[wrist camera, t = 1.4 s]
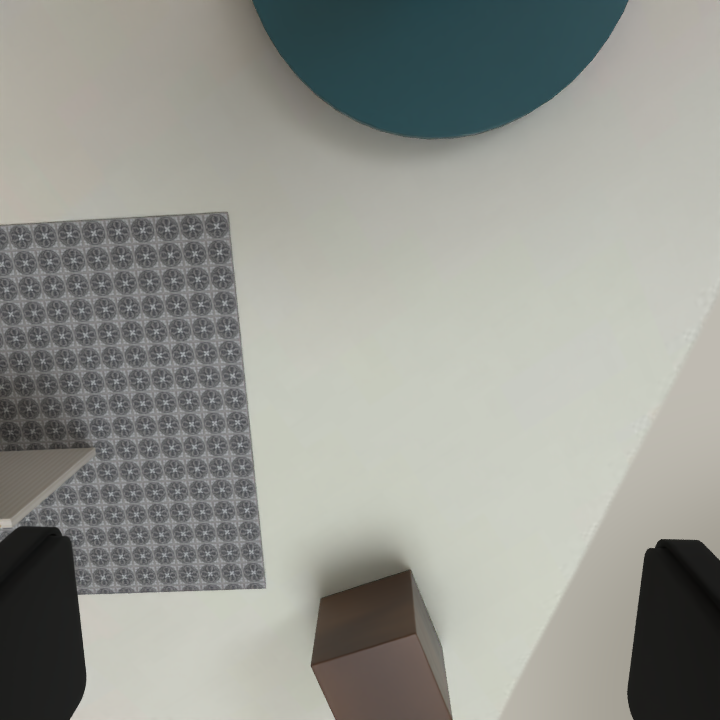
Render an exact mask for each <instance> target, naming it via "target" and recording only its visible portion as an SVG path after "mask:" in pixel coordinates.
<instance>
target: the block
mask: <svg viewBox="0 0 720 720" xmlns="http://www.w3.org/2000/svg"><path fill="white" fill-rule="evenodd" d="M311 667H312V670H313V672H314V674H315V676H316V678H317V680H318V683H319V685H320V687H321V689H322V691H323V694H324V696H325V698H326V700H327V702H328V704H329V707H330V709H331V711H332V713H333V715H334V717H335V720H453V719H452V712H451V705H450V698H449V691H448V684H447V677H446V671H445V664H444V657H443V650H442V646H441V644H440V641H439V639H438V636H437V634H436V631H435V629H434V626H433V624H432V622H431V619H430V617H429V614H428V612H427V609H426V607H425V604H424V602H423V599H422V597H421V594H420V592H419V589H418V587H417V584H416V582H415V579H414V577H413V574H412V572H411V570H408V571H405V572H402V573H398V574H395V575H392V576H389V577H386V578H383V579H380V580H377V581H374V582H370V583H367V584H364V585H361V586H358V587H355V588H352V589H349V590H346V591H342V592H339V593H336V594H333V595H330V596H327V597H324V598H321V599H320V606H319V613H318V620H317V627H316V633H315V640H314V647H313V654H312V661H311Z"/></svg>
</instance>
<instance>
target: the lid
mask: <svg viewBox="0 0 720 720" xmlns="http://www.w3.org/2000/svg"><path fill="white" fill-rule="evenodd" d="M252 1H253V4H254V6H255V9H256V11H257V13H258V15H259V17H260V20H261V22H262V24H263V26H264V29H265V30H266V32H267V34H268V35H269V37H270V39H271V40H272V42H273V44H274V45H275V47H276V49H277V50H278V52H279V54H280V55H281V57H282V58H283V59H284V60H285V62H286V63H287V64H288V65H289V67H290V68H291V69H292V71H293V72H294V73H295V74H296V76H297V77H298V78H299V79H300V80H301V81H302V82H303V83H304V84H305V85H306V86H307V87H308V88H309V89H310V90H311V91H312V92H313V93H315V94H316V95H317V96H318V97H319V98H321V99H322V100H323V101H325V102H326V103H327V104H329V105H330V106H331V107H333V108H334V109H335V110H337V111H339V112H341V113H342V114H344V115H346V116H348V117H349V118H351V119H353V120H355V121H357V122H359V123H361V124H364V125H366V126H369V127H371V128H374V129H376V130H379V131H382V132H386V133H390V134H394V135H399V136H403V137H410V138H420V139H451V138H459V137H465V136H470V135H476V134H480V133H483V132H486V131H489V130H492V129H496V128H499V127H502V126H504V125H506V124H508V123H510V122H513V121H515V120H517V119H519V118H521V117H523V116H525V115H527V114H529V113H530V112H532V111H533V110H535V109H536V108H538V107H539V106H541V105H543V104H544V103H546V102H547V101H549V100H550V99H552V98H553V97H554V96H555V95H557V94H558V93H559V92H560V91H561V90H563V89H564V88H565V87H566V86H567V85H569V84H570V83H571V82H572V81H573V80H574V79H575V78H576V77H577V76H578V75H579V74H580V73H581V72H582V71H583V69H584V68H585V67H586V66H587V65H588V64H589V63H590V62H591V61H592V60H593V58H594V57H595V56H596V54H597V53H598V52H599V50H600V49H601V47H602V46H603V45H604V43H605V42H606V41H607V39H608V38H609V36H610V35H611V33H612V31H613V29H614V28H615V26H616V24H617V22H618V21H619V19H620V17H621V15H622V14H623V12H624V9H625V7H626V5H627V2H628V0H252Z"/></svg>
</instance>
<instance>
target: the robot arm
mask: <svg viewBox="0 0 720 720" xmlns="http://www.w3.org/2000/svg"><path fill="white" fill-rule="evenodd" d="M85 686H86V667H85V658H84V649H83V640H82V631H81V622H80V613H79V604H78V595H77V585H76V576H75V567H74V558H73V549H72V543H71V540H70V538H69V537H68V536H62V533H61V531H60V529H58V528H57V527H42V526H20V527H18V528H16V529H15V530H14V531H13V532H11V533H10V534H9V535H8V536H7V537H6V538H5V539H4V540H2V541H1V542H0V720H70V718H71V717H72V715H73V713H74V712H75V710H76V708H77V707H78V705H79V703H80V701H81V699H82V697H83V694H84V691H85ZM627 695H628V703H629V708H630V712H631V715H632V717H633V719H634V720H720V560H719V559H718V558H717V557H716V556H715V555H714V554H713V553H712V552H711V551H710V550H709V549H708V548H707V547H706V546H705V545H704V544H703V543H702V542H700V541H699V540H675V539H673V540H672V539H661V540H659V541H658V542H657V544H656V547H655V548H649V549H648V550H647V551H646V553H645V557H644V563H643V572H642V579H641V587H640V595H639V603H638V611H637V618H636V626H635V634H634V642H633V650H632V658H631V666H630V673H629V681H628V691H627Z"/></svg>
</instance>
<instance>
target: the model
mask: <svg viewBox="0 0 720 720" xmlns="http://www.w3.org/2000/svg"><path fill="white" fill-rule="evenodd" d="M96 455H97V454H96V453H95V448H94V447H88V448H71V449H40V450H23V451H0V529H12V528H14V527H15V526H16V525H17V524H18V523H19V522H20V521H22V520H23V519H24V518H25V517H26V516H27V515H28V514H30V513H31V512H32V511H33V510H34V509H35V508H36V507H38V506H39V505H40V504H41V503H42V502H43V501H45V500H46V499H47V498H48V497H49V496H50V495H51V494H53V493H54V492H55V491H56V490H57V489H58V488H59V487H61V486H62V485H63V484H64V483H65V482H66V481H67V480H69V479H70V478H71V477H72V476H73V475H74V474H75V473H77V472H78V471H79V470H80V469H81V468H82V467H83V466H85V465H86V464H87V463H88V462H89V461H90V460H91V459H93V458H94V457H95V456H96Z"/></svg>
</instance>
